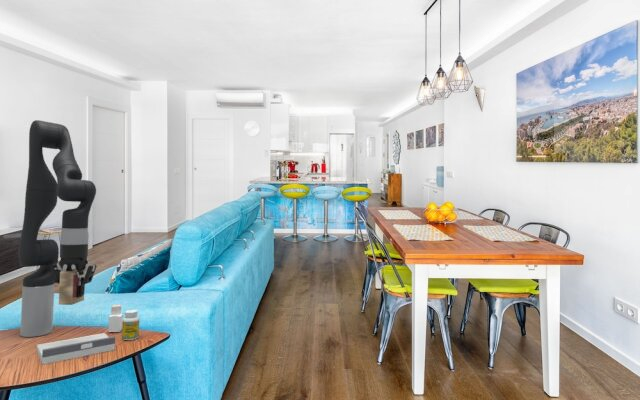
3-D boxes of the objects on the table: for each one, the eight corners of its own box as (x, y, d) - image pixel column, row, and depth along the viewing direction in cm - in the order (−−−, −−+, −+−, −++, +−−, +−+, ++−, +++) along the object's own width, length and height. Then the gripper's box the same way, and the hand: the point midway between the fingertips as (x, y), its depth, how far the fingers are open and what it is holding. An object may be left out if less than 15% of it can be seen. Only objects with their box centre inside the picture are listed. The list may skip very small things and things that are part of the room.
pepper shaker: (120, 332, 139) (121, 306, 139) (107, 333, 138) (109, 307, 138) (122, 329, 143) (123, 304, 143) (110, 330, 142) (111, 304, 142)
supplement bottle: (137, 335, 137) (138, 308, 138) (139, 339, 133) (141, 312, 133) (120, 337, 134) (122, 310, 135) (122, 342, 130) (123, 314, 130)
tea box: (58, 304, 117) (60, 271, 117) (71, 299, 123) (73, 268, 123) (71, 304, 117) (73, 272, 117) (84, 300, 123) (85, 269, 123)
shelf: (36, 351, 120) (37, 338, 120) (104, 338, 133) (104, 327, 133) (42, 364, 110) (43, 350, 110) (114, 350, 123) (115, 337, 123)
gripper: (103, 242, 124) (101, 295, 124) (60, 240, 124) (58, 293, 124) (89, 244, 116) (86, 300, 116) (43, 242, 117) (41, 299, 116)
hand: (72, 296), depth 120 cm, fingers closed on tea box, 4 cm apart
